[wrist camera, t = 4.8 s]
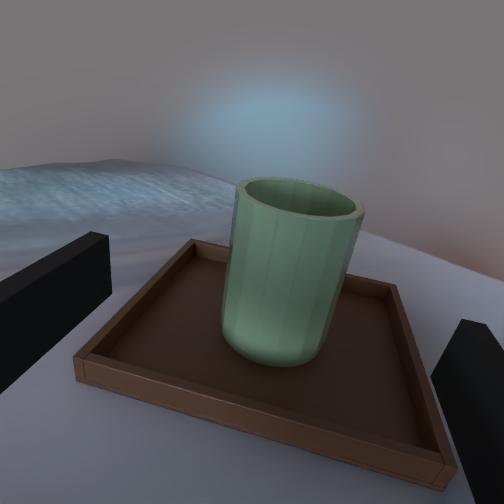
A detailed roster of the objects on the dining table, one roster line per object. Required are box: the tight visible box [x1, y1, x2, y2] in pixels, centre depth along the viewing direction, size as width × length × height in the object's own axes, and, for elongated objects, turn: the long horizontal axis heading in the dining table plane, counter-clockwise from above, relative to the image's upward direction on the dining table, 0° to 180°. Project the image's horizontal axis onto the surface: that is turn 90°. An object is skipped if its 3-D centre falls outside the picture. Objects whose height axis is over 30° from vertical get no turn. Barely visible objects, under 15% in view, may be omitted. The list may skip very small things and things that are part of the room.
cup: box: [221, 177, 365, 367], centre depth 21 cm, size 7×7×10 cm
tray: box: [73, 239, 458, 491], centre depth 23 cm, size 19×16×2 cm
